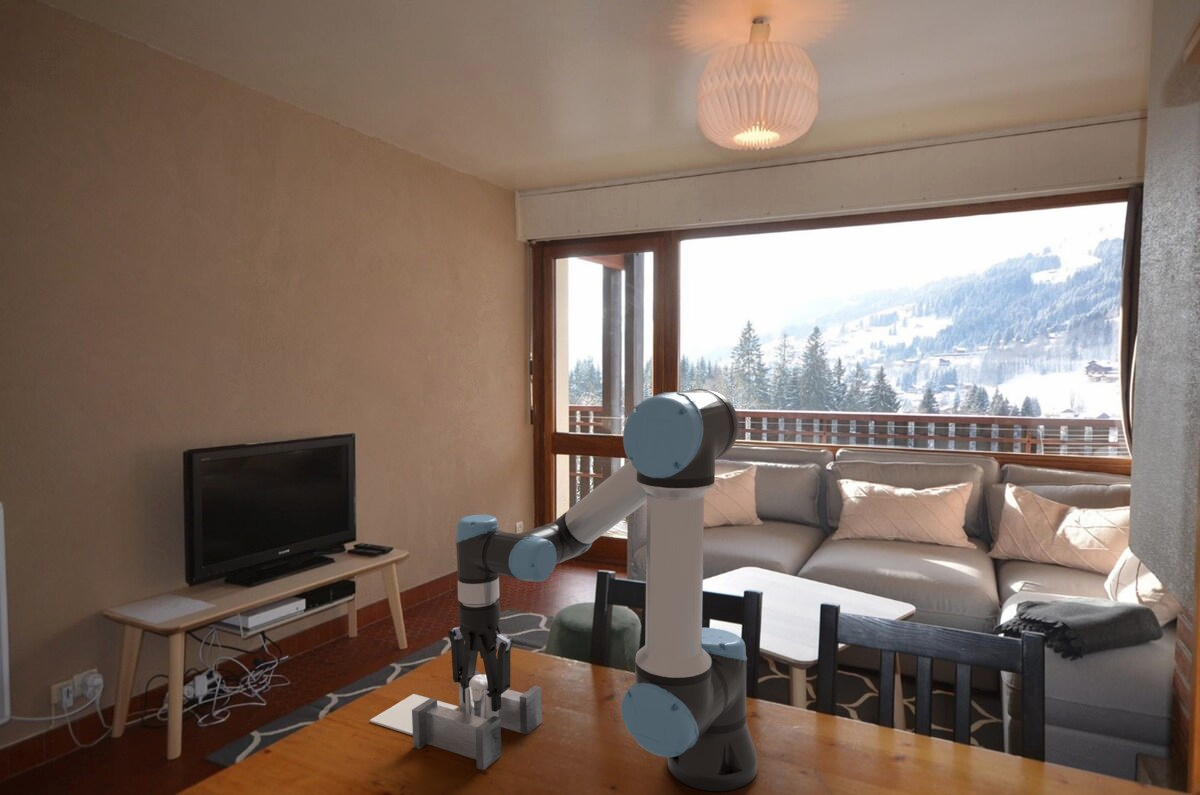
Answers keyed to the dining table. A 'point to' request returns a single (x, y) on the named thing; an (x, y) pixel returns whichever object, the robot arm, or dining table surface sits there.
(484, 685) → the milkshake
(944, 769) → the dining table surface
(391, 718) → the pad
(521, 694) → the brackets
